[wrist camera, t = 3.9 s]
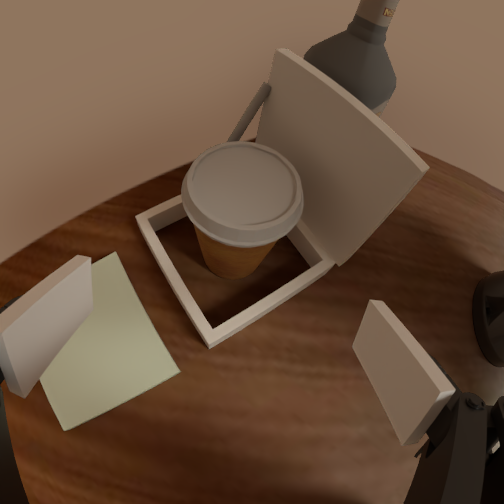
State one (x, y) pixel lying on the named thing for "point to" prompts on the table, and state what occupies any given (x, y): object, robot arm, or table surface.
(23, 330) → the robot arm
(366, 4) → the liquor
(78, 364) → the board
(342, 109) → the access hatch
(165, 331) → the table surface
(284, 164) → the disposable coffee cup
